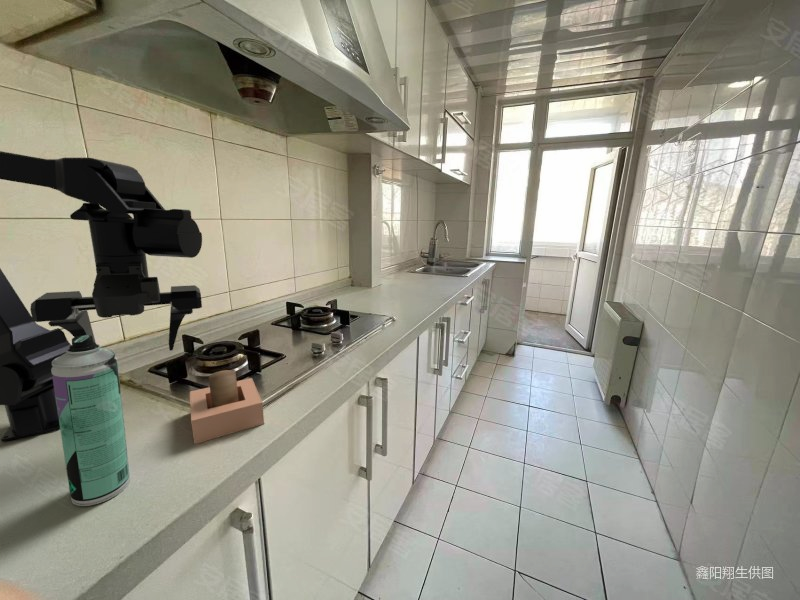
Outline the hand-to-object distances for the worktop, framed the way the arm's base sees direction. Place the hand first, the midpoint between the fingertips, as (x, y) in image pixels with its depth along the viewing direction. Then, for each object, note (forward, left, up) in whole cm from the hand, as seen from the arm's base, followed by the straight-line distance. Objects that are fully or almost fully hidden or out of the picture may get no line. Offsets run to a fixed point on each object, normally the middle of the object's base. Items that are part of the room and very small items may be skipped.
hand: (135, 354), depth 51 cm
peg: (+4, +11, -13) cm, 17 cm away
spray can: (+13, -4, -13) cm, 19 cm away
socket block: (+4, +11, -13) cm, 17 cm away
